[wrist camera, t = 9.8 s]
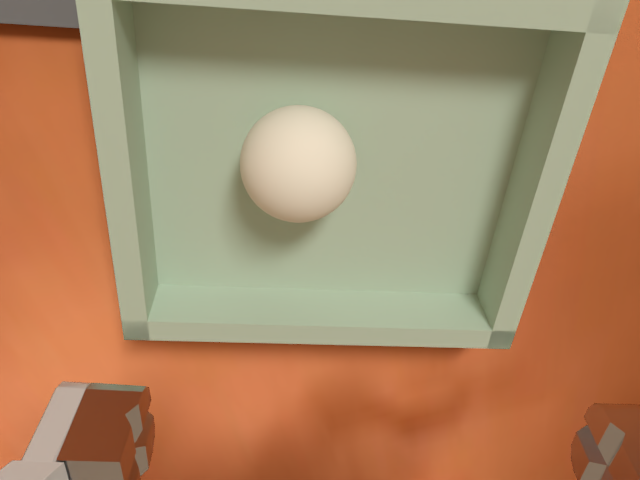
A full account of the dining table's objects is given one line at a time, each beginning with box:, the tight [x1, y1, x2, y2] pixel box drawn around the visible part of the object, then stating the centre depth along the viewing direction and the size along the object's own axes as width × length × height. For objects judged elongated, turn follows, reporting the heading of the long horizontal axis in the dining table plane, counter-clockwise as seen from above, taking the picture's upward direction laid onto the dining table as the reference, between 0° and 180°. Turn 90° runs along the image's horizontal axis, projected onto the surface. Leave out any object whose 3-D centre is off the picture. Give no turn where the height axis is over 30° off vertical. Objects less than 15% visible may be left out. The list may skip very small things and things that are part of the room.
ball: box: [240, 105, 357, 223], centre depth 20 cm, size 4×4×4 cm
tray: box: [75, 0, 630, 349], centre depth 22 cm, size 16×14×3 cm
